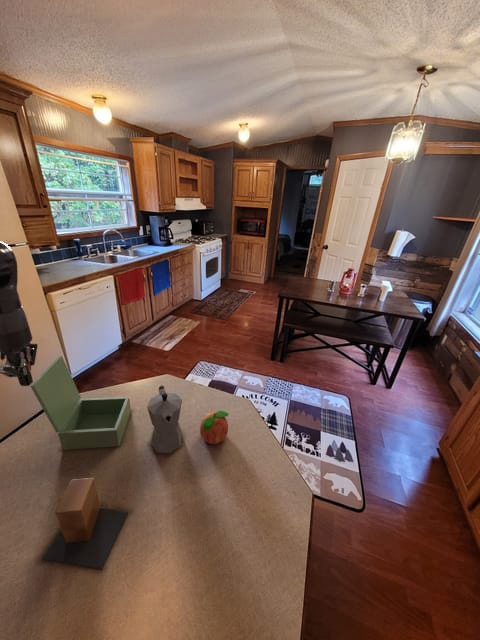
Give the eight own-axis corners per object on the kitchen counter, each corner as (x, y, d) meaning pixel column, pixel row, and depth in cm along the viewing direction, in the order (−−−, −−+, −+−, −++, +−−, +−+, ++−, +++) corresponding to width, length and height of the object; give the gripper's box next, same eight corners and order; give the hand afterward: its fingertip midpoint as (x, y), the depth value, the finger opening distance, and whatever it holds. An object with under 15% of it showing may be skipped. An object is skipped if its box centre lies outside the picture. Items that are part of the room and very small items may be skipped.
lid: (61, 355, 74) (59, 356, 74) (33, 385, 61) (30, 386, 61) (81, 397, 80) (78, 397, 80) (59, 432, 68) (56, 432, 68)
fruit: (193, 435, 79) (193, 410, 75) (218, 422, 84) (220, 398, 80) (208, 455, 73) (209, 429, 69) (234, 440, 78) (236, 415, 74)
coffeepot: (187, 456, 72) (187, 406, 65) (153, 466, 68) (148, 415, 61) (177, 417, 85) (176, 373, 78) (147, 425, 81) (143, 378, 74)
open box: (131, 413, 85) (129, 396, 83) (119, 448, 73) (116, 430, 70) (83, 415, 83) (80, 398, 80) (63, 451, 70) (57, 433, 68)
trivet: (43, 561, 49) (41, 559, 49) (78, 506, 58) (77, 504, 58) (102, 572, 48) (101, 569, 48) (128, 514, 57) (128, 512, 57)
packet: (100, 507, 58) (93, 477, 54) (89, 540, 52) (80, 510, 48) (79, 509, 57) (71, 479, 53) (65, 543, 51) (55, 512, 47)
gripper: (9, 315, 67) (26, 370, 74) (-33, 338, 55) (-7, 402, 62) (41, 315, 68) (55, 369, 75) (7, 338, 56) (27, 400, 63)
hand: (27, 384), depth 68 cm, fingers closed
